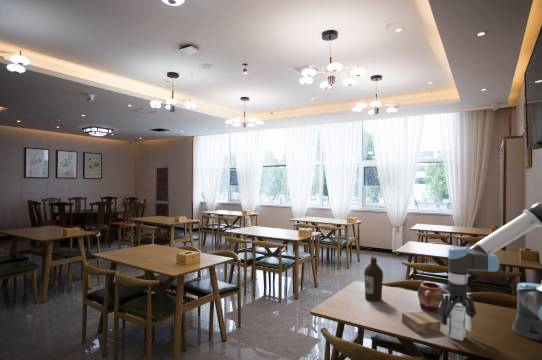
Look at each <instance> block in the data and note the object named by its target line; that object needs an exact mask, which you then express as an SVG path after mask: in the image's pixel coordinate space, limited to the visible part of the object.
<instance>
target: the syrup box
mask: <svg viewBox="0 0 542 360" xmlns="http://www.w3.org/2000/svg"><path fill="white" fill-rule="evenodd" d="M466 315H467V313H466V307H465V306H464V305H462V304H461V303H457V304H456V305H454V306H453V308H452V310H451V312H450V314H449V316H448V318H449V333H448V338H450V339H454V340H458V341H461V342H463V341H464V340H465V337H466V329H465V322H466Z"/></svg>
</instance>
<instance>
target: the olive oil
mask: <svg viewBox="0 0 542 360" xmlns="http://www.w3.org/2000/svg"><path fill="white" fill-rule="evenodd" d="M377 261H378V260H377V257H376V256H371V257H370V263H369V264H368V265H367V266H366V267H365V269H364V273H363V275H364V276H363V277H364V298H366V299H365V300H366V301H369V302H372V303H373V302H376V303H378V302H381V301H382V299H383V279H384V272H383V270H382V267H380V265H378V264H377Z"/></svg>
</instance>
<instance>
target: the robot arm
mask: <svg viewBox="0 0 542 360" xmlns="http://www.w3.org/2000/svg"><path fill="white" fill-rule="evenodd" d="M536 227H538V228H542V198H541V199H540V200H538V201H536V202H535V203H533V204H530V205H529V206H528V207H526V208H525V209H523V210H522V214H520V215H518V216H517V217H515V218H514V219H511V221H508V222H507V223H506V224H504V225H503V226H501V227H500V228H498V229H496V230H494V231H493V232H492V233H490V234H489V235H487V236H485V237H484V238H482V239H481V240H479V241H478V242H476V243H474V244H473V245H470V246H465V247H464V246H463V247H459V246H452V247H449V249H448V254H447V255H448V256H447V258H448V260H447V261H448V262H447V263H448V269H447V271H448V276H447V277H448V278H447V280H448V281H447V283H448V284H447V286H448V287H447V289H448V293H442V301H441V303H440V305H439V307H440V308H439V311H437V314H438V316H440V317H442V325H443V332H445V333H446V334H449V314H450V312H451V310H452V308H453V306H454V305H456V304H457V303H458V304H462V305H464V306H465V307H466V322H465V331H466V330H467V331H468V332H472V324H473V318H474V317H475V316H476V315H477V310H476V306H475V302H474V296H473V294H472V293H471V292H468V271H479V272H488V273H489V272H498V270H499V269H500V260H499V258H498V256H497V254H495V252H498V251H499V250H501V249H502V248H504V247H506V246H508V245H509V244H511V243H512V242H514V241H516V240H517V239H519V238H520V237H522V236H524V235H525V234H527V233H528V232H530V231H532V230H533V229H535V228H536ZM512 331H513V332H514V333H516V334H517V335H519V336H521V337H524V338H528V339H531V340H534V341H541V342H542V281H541V283H533V282H532V283H531V282H519V283H517V287H516V315H515V318H514V320H513V322H512Z"/></svg>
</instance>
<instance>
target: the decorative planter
mask: <svg viewBox="0 0 542 360" xmlns="http://www.w3.org/2000/svg"><path fill="white" fill-rule="evenodd" d="M441 289H442V288H441V285H440V284H438V283H436V282H432V281H431V282H428V281H425V282H422V283H420V285H419V288H418V291H417V297H418V300H419V301H418V302H419V307H420V309H421V310H423V311H426V312H433V313H438V312H439V308H440V305H441V302H442V294H443V292H442V290H441Z"/></svg>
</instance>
